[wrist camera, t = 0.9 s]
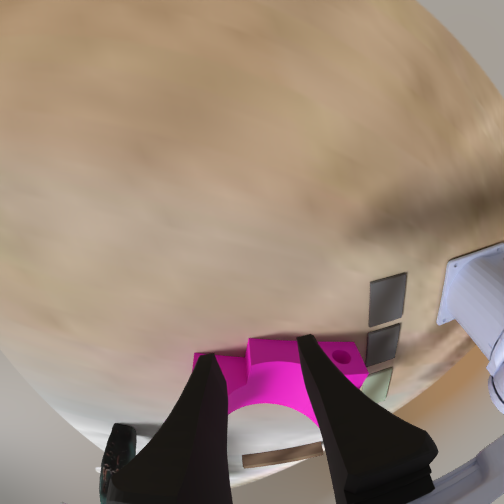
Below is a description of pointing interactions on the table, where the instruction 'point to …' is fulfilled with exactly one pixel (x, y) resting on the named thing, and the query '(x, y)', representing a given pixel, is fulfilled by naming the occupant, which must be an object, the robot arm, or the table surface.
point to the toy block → (281, 373)
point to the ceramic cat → (116, 455)
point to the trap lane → (378, 350)
